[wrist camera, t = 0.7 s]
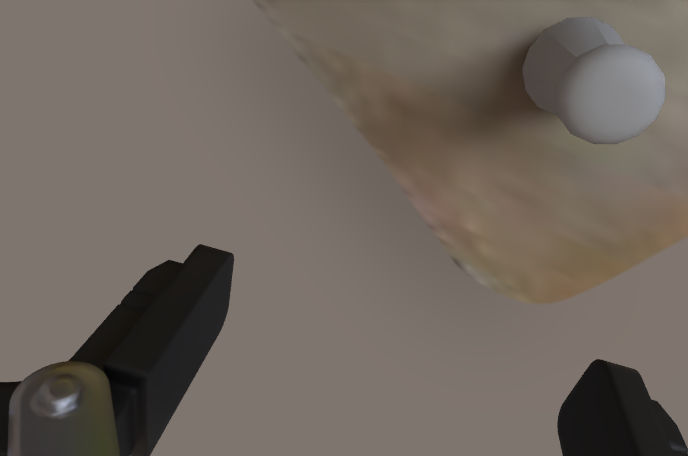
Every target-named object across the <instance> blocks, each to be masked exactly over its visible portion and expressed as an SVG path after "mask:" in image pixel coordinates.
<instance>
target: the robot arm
mask: <svg viewBox="0 0 688 456" xmlns="http://www.w3.org/2000/svg"><path fill="white" fill-rule="evenodd" d="M233 264H234V256H233V254H232V253H229V252H226V251H222V250H219V249H215V248H212V247H208V246H205V245H202V244H200V245H198V246H197V247H196V248H195V249H194V250H193V252H192V253H191V254H190V255H189V257H188V258H187V259H186V260H185V262H184V263H183V264H182V263H179V262H175V261H171V260H168V261H166V262H164V263H162V264H160V265H158V266H156V267H155V268H153V269H151V270H149V271H147V273H146V274H145V275H144V276H143V277H142V278H141V279H140V281H139V282H138V283H137V284H136V285H135V286H134V287H133V290H132V291H130V292H129V293H128V294H127V295H126V296H125V297H124V299H123V300H122V301H121V304H120V305H117V307H116V308H115V309H114V310H113V311H112V312H111V313H110V315H109V316H108V317H107V318H106V319H105V320H104V321H103V323H102V324H101V325H100V326H99V327H98V328H97V329H96V331H95V332H94V333H93V334H92V335H91V336H90V337H89V339H88V340H87V341H86V342H85V343H84V344H83V345H82V346H81V348H80V349H79V350H78V351H77V352H76V353H75V355H74V356H73V357H72V358H71V359H70V360H69V361H66V362H60V363H55V364H51V365H49V366H46V367H43V368H41V369H39V370H37V371H35V372H34V373H32V374H31V375H29V376H28V377H27V378H25V379H24V380H23V381H19V382H0V456H150V454H151V453H152V451H153V449H154V447H155V445H156V444H157V442H158V440H159V439H160V437H161V435H162V433H163V432H164V430H165V428H166V426H167V424H168V423H169V421H170V419H171V417H172V416H173V414H174V412H175V410H176V409H177V407H178V405H179V403H180V401H181V400H182V398H183V396H184V394H185V393H186V391H187V389H188V387H189V386H190V384H191V382H192V380H193V379H194V377H195V375H196V373H197V372H198V370H199V368H200V366H201V364H202V363H203V361H204V359H205V357H206V356H207V354H208V352H209V350H210V349H211V347H212V345H213V343H214V342H215V340H216V338H217V336H218V335H219V333H220V331H221V329H222V326H223V324H224V321H225V318H226V315H227V311H228V307H229V299H230V290H231V281H232V273H233ZM558 435H559V440H560V444H561V449H562V453H563V456H688V448H687V446H686V444H685V442H684V440H683V438H682V435H681V433H680V431H679V429H678V426H677V425H676V424H675V422H674V421H673V420H672V419H671V417H670V416H669V415H668V414H667V413H666V411H665V410H664V409H663V408H662V406H661V405H660V404H659V403H658V402H657V401H654V400H651V398H650V396H649V394H648V391H647V389H646V387H645V384H644V382H643V380H642V377H641V375H640V374H639V372H638V371H636V370H635V369H632V368H628V367H625V366H621V365H618V364H614V363H611V362H607V361H604V360H599V359H597V360H595V361H593V362H592V363H591V364H590V366H589V367H588V368H587V370H586V371H585V372H584V374H583V375H582V377H581V378H580V380H579V381H578V383H577V384H576V385H575V387H574V388H573V390H572V391H571V393H570V394H569V395H568V397H567V399H566V400H565V401H564V403H563V404H562V406H561V409H560V412H559V416H558Z"/></svg>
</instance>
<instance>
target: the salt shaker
mask: <svg viewBox="0 0 688 456" xmlns="http://www.w3.org/2000/svg"><path fill="white" fill-rule="evenodd" d="M522 72H523V78H524V84H525V90H526V92H527V93H528V94H529V96H530V97H531V99H532V100H533V101H534V103H535V104H536V106H537V107H539V108H541V109H544V110H546V111H548V112H550V113H553V114H555V115H558V116H559V118H560V120H561V121H562V122H563V124H564V125H565V126H566V128H567V129H568V131H569V132H570V133H571V134H573V135H575V136H577V137H579V138H581V139H584V140H586V141H588V142H590V143H593V144H618V143H620V142H623V141H625V140H627V139H630V138H632V137H635V136H637V135H639V134H640V133H641V132H642V131H643V130H644V129H645V128H647V127H648V126H649V125H650V124H651V123H652V122H653V121H654V120H655V119H656V118H657V116H658V113H659V111H660V109H661V106H662V104H663V102H664V100H665V77H664V74H663V73H662V71H661V70H660V68H659V67H658V65H657V64H656V63H655V61H654V60H653V58H652V57H651V56H650V54H648V53H645V52H643V51H641V50H639V49H637V48H635V47H633V46H631V45H628V44H624V43H623V41H622V40H621V38H620V37H619V35H618V34H617V33H616V31H615V30H614V28H613V27H612V26H611V25H608V24H606V23H604V22H602V21H600V20H597V19H595V18H593V17H578V18H567V19H565V20H563V21H561V22H559V23H557V24H555V25H553V26H551V27H549V28H547V29H545V30H544V31H543V32H542V33H541V35H540V36H539V37H538V38H537V39H536V41H535V42H534V43H533V44H532V45H531V47H530V48H529V50H528V53H527V56H526V60H525V63H524V66H523V69H522Z"/></svg>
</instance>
